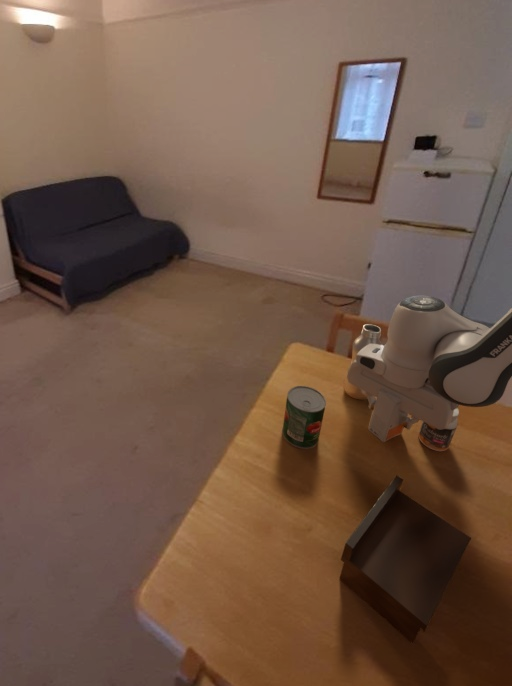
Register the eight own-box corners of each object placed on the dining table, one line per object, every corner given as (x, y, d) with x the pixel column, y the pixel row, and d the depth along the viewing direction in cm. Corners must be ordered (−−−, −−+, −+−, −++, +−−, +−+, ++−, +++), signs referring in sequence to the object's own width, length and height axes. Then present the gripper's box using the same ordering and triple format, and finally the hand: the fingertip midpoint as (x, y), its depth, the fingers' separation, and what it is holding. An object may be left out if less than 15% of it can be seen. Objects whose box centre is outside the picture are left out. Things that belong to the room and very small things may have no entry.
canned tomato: (281, 418, 96) (286, 382, 91) (317, 424, 94) (324, 388, 89) (282, 445, 89) (287, 408, 84) (320, 452, 87) (328, 414, 82)
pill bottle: (414, 442, 88) (426, 408, 84) (421, 427, 92) (432, 394, 88) (445, 457, 85) (459, 422, 81) (450, 440, 89) (464, 406, 84)
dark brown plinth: (460, 559, 67) (477, 526, 63) (416, 647, 57) (433, 614, 53) (385, 507, 76) (396, 474, 72) (336, 576, 66) (345, 542, 62)
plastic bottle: (345, 381, 107) (359, 317, 98) (373, 391, 103) (390, 326, 94) (339, 396, 102) (353, 330, 93) (368, 407, 98) (386, 339, 90)
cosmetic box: (383, 443, 89) (395, 402, 83) (367, 429, 92) (377, 389, 87) (402, 434, 91) (416, 393, 85) (386, 420, 94) (397, 381, 89)
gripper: (468, 386, 78) (448, 438, 84) (362, 340, 92) (351, 387, 98) (456, 402, 74) (436, 454, 80) (348, 351, 89) (338, 399, 95)
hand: (389, 417), depth 89 cm, fingers open, 6 cm apart
